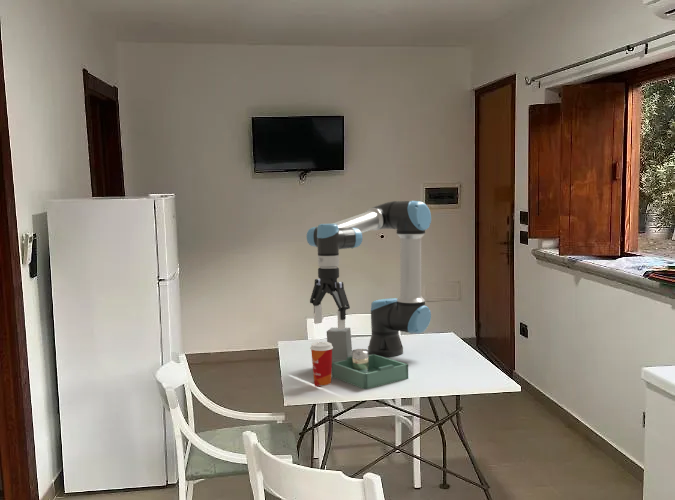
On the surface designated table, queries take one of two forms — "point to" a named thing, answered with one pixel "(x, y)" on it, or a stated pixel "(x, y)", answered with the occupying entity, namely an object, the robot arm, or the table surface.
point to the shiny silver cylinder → (360, 360)
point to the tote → (371, 372)
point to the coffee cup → (322, 362)
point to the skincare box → (340, 343)
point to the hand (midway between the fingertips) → (329, 326)
